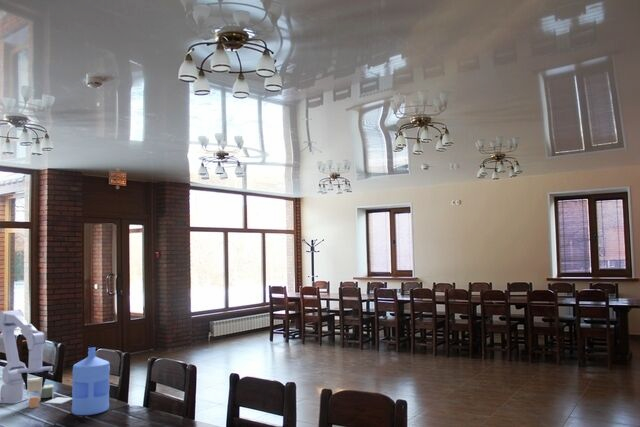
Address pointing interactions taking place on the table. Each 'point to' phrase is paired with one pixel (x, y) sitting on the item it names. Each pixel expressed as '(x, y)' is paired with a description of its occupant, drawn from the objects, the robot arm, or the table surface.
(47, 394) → the sage green cube
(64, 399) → the blue-grey mat
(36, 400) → the terracotta cube
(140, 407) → the table surface
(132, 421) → the table surface
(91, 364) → the water jug
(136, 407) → the table surface
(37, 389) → the tan framed cube
